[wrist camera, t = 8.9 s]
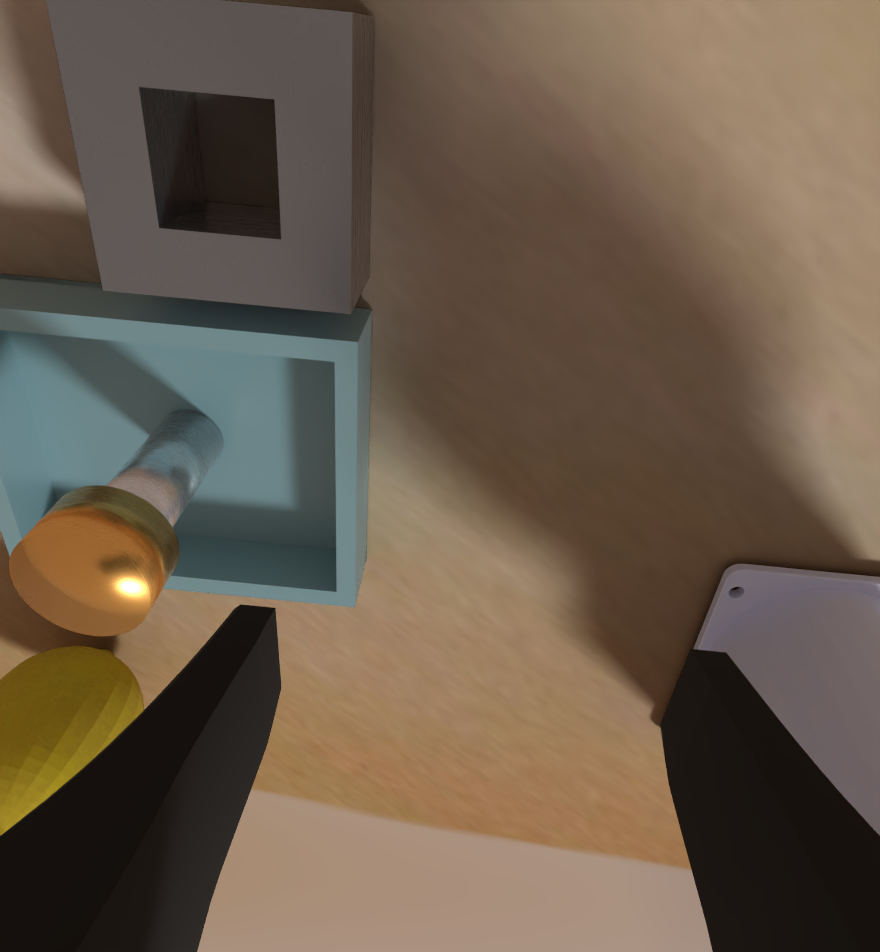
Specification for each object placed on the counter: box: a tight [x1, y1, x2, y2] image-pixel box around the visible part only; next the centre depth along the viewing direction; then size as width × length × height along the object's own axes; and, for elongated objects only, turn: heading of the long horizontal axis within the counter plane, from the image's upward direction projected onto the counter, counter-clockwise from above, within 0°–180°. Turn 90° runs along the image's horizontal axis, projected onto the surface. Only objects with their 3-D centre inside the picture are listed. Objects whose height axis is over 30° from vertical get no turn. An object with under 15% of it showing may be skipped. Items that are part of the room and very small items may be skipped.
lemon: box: [0, 646, 144, 835], centre depth 24 cm, size 6×6×8 cm
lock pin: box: [9, 409, 224, 636], centre depth 19 cm, size 3×3×7 cm
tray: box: [0, 274, 372, 607], centre depth 21 cm, size 9×11×2 cm
